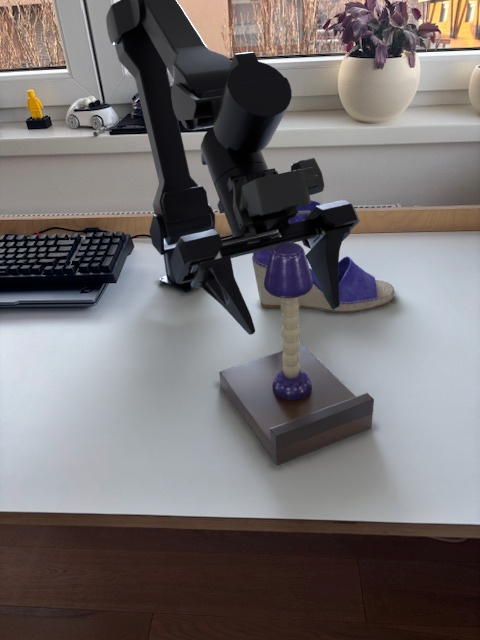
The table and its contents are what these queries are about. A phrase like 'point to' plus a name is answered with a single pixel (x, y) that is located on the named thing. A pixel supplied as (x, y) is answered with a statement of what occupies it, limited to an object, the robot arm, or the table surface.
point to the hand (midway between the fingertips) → (295, 320)
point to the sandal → (353, 286)
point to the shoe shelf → (295, 406)
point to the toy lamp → (289, 314)
